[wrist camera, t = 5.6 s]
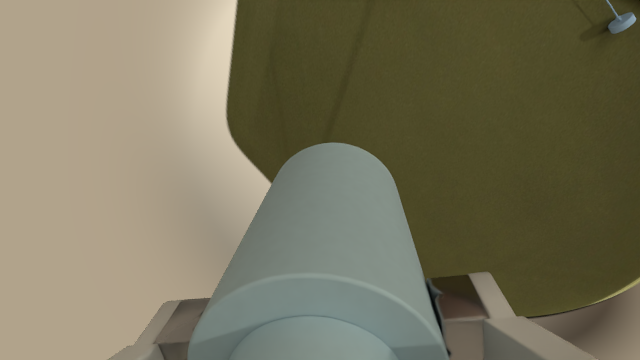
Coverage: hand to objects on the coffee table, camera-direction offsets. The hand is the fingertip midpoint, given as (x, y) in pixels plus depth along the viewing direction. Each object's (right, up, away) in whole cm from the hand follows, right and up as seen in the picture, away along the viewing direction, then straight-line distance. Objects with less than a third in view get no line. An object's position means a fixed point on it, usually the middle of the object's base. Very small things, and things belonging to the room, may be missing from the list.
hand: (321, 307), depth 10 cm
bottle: (+1, +2, +6) cm, 7 cm away
